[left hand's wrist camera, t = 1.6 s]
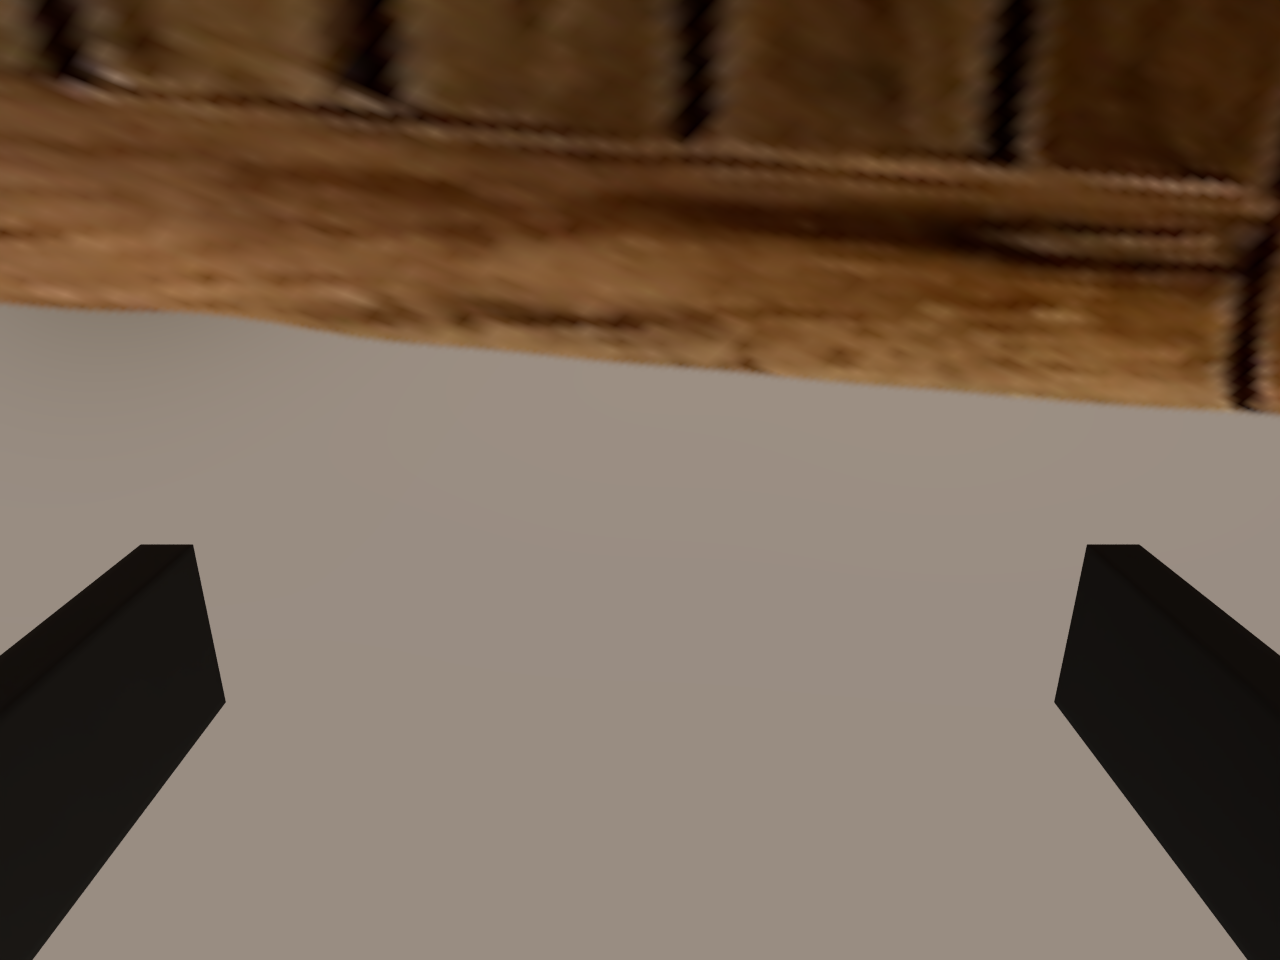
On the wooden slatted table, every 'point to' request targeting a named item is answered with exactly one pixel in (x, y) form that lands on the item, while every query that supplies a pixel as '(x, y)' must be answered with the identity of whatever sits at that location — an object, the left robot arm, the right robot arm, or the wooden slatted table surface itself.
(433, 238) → the wooden slatted table surface
